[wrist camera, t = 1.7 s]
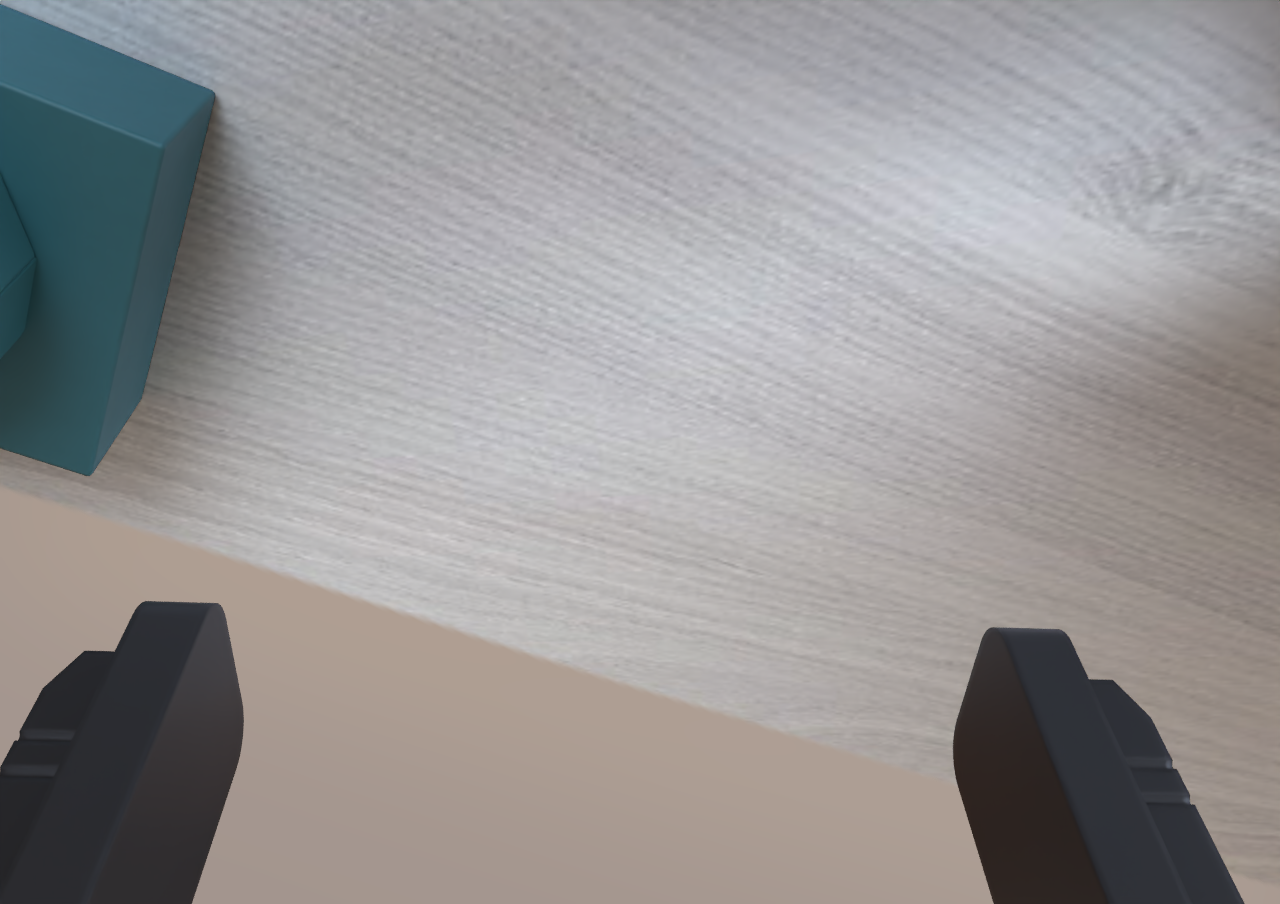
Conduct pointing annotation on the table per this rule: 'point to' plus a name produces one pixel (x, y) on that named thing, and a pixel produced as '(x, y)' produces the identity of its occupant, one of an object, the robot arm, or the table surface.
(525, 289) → the table surface
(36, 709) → the robot arm
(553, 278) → the table surface
